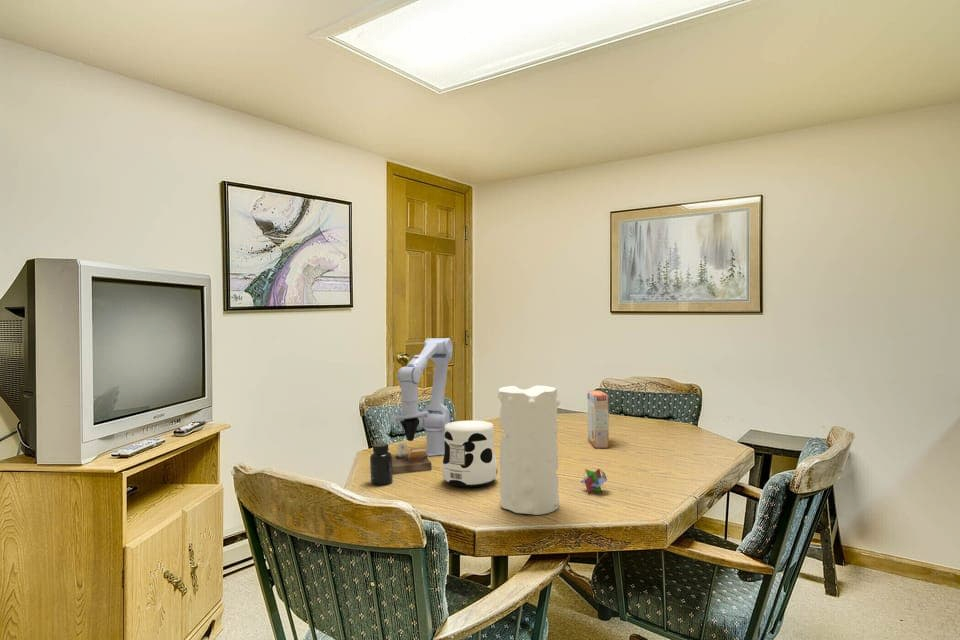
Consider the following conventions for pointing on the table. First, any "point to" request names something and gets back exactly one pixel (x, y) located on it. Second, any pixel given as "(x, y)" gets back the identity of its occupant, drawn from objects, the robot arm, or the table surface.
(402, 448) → the steel pin
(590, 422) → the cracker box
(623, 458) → the table surface
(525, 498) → the vase
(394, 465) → the brown board with hole
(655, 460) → the table surface
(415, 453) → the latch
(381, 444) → the supplement bottle
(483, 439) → the milk container
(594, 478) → the geometric puzzle
